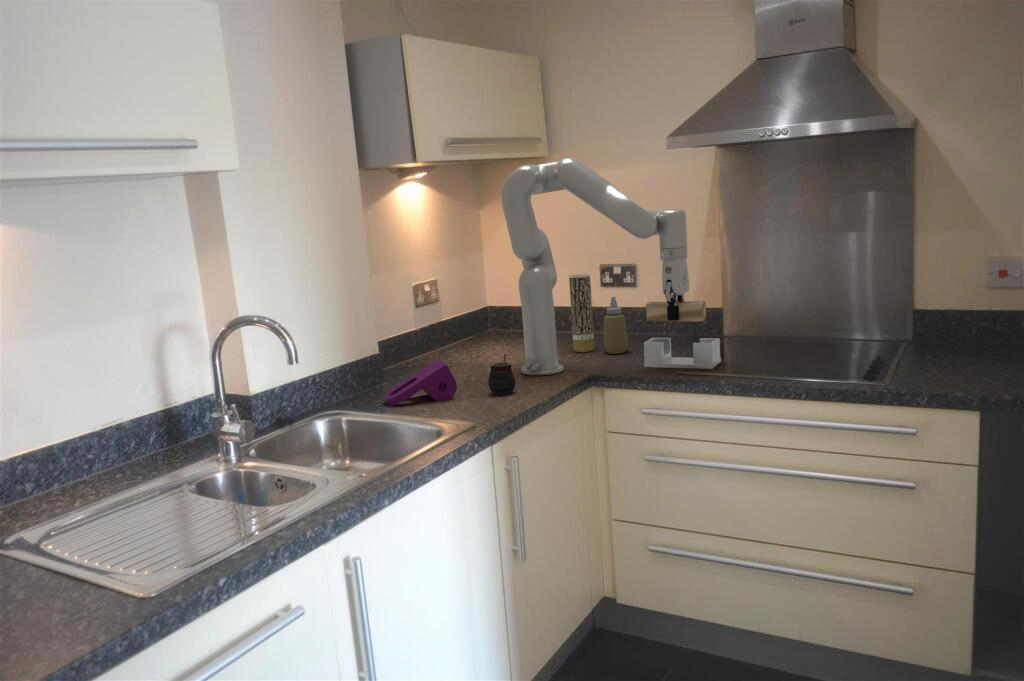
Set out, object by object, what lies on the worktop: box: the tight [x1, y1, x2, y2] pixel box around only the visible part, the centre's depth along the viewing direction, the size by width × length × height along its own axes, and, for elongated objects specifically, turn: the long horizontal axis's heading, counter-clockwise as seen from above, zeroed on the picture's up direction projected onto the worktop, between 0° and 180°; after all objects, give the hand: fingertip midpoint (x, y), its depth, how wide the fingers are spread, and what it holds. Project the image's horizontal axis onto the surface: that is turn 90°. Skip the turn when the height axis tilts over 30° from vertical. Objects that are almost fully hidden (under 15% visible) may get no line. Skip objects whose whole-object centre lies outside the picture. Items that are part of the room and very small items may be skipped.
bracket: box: [643, 337, 722, 370], centre depth 245 cm, size 10×20×7 cm, turn 63°
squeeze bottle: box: [602, 296, 629, 355], centre depth 269 cm, size 8×8×18 cm
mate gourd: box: [487, 353, 517, 396], centre depth 225 cm, size 7×8×10 cm
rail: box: [645, 300, 707, 322], centre depth 239 cm, size 4×16×5 cm, turn 63°
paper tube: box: [568, 273, 595, 353], centre depth 276 cm, size 7×7×25 cm
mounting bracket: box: [383, 358, 458, 407], centre depth 225 cm, size 9×8×18 cm
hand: (676, 318), depth 239 cm, fingers closed on rail, 4 cm apart
